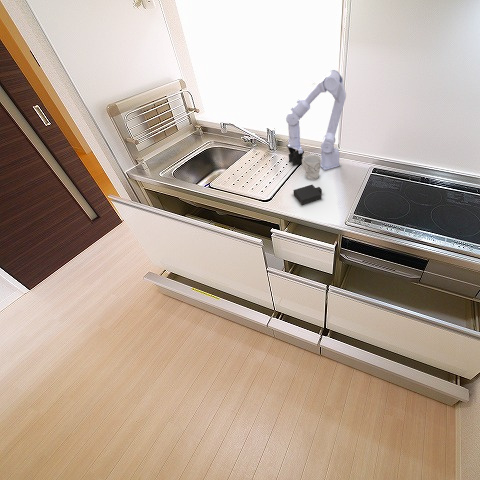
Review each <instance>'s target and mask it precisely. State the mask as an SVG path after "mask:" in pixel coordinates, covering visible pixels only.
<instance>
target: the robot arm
mask: <svg viewBox="0 0 480 480" xmlns="http://www.w3.org/2000/svg"><path fill="white" fill-rule="evenodd" d="M327 92H328V93H329V94H331V95H332V98H333V99H334V102H333V106H332V109H331V113H330V117H329V121H328V126H327V130H326V133H325V135H324V136H323V139H322V143H321V144H320V158H321V165H320V168H322V169H323V170H324V171H327V170H330V169H334V168H337V167H340V151H339V148H337V147H335V143H336V133H337V130H338V127H339V124H340V123H339V122H340V119H341V116H342V113H343V109H344V105H345V101H346V98H347V92H346V87H345V84H344V79H343V77H342V74H340V72H339V71H338V70H336V69H331V70H330V71H328V72H327V74H326V75H324V76H323V77H322V78H321V79H320V80H319V81H318V82H317V83H316V84H315V85H314V87H313V88H312V89H311V91H310V92H309V93H308V95H307V96H306V97H305V98H304V97H303V98H300V99H298V100H297V101H296V104H295V106H293V107H291V108H290V111H289V113H287V116H286V118H285V120H286V123H287V128H288V129H287V130H288V138H287V144H286V148H287V149H288V153H289V154H292V153H294V155H295V158H296V162H297V164H298V163H301V159H302V156H303V155H304V154H305V151H304V149H303V148H302V144H301V130H300V129H301V128H300V120H301V119H302V118H303V117H304V116H305V115H306V114H307V113H308V112H309V110H310V109H311V104H312V103H313V102H314V100H316V98H317V97H319V95H320V94H321V93H327ZM301 164H302V163H301ZM298 165H299V164H298Z"/></svg>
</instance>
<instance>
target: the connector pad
mask: <svg viewBox="0 0 480 480" xmlns="http://www.w3.org/2000/svg"><path fill="white" fill-rule="evenodd" d="M303 158H304V157H303V156H302V159H303ZM302 159H301V163H298V164H297V162H296V158H295V155H294V153H292V154H290V153H288V162H289V163H292V166H293V167H294V166H298V165H302Z"/></svg>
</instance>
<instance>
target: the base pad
mask: <svg viewBox="0 0 480 480" xmlns="http://www.w3.org/2000/svg"><path fill="white" fill-rule="evenodd" d="M322 191H323V189H322V187H320V186H316V187H315V186H314V185H313V184H309V185H305V186H302V187H299V188H296V189H293V196H294V198H295V199H296V200H297V201H298V203H299V204H300V205H301V206H306V205H308V204H312V203H314V202H317V201H321V200H322Z"/></svg>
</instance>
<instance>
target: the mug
mask: <svg viewBox="0 0 480 480" xmlns="http://www.w3.org/2000/svg"><path fill="white" fill-rule="evenodd" d="M301 165H302V169H303V170H304V172H305V176H306V178H307V179H308V180H313V181H314V180H317V179H318V178H319V177H320V172H321V166H320V165H321V156H320V155H317V154H307V155H305V156H304V157H303V159H302V163H301Z"/></svg>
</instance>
